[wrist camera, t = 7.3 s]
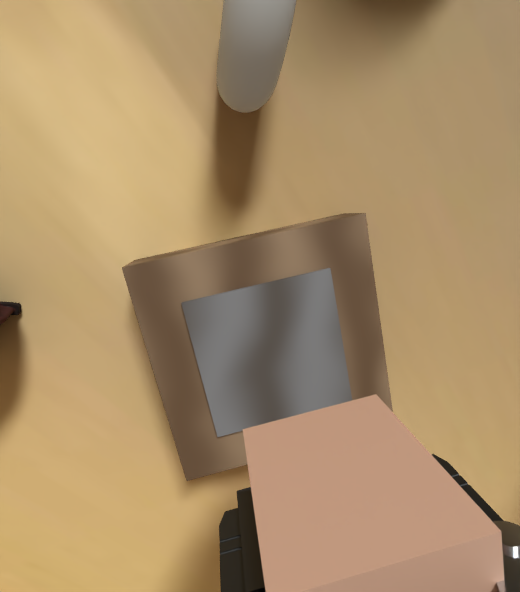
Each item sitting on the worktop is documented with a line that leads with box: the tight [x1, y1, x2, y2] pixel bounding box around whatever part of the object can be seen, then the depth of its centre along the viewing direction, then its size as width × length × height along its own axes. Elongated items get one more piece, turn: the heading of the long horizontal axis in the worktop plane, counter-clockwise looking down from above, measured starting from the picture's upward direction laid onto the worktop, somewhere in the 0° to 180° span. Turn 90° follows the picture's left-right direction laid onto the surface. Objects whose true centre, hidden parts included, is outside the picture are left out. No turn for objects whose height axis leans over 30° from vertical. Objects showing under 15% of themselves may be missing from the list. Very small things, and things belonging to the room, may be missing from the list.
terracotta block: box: [243, 394, 504, 592], centre depth 11 cm, size 5×5×6 cm
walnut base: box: [122, 213, 393, 481], centre depth 27 cm, size 16×16×4 cm
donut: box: [217, 0, 296, 113], centre depth 20 cm, size 10×4×10 cm, turn 172°
